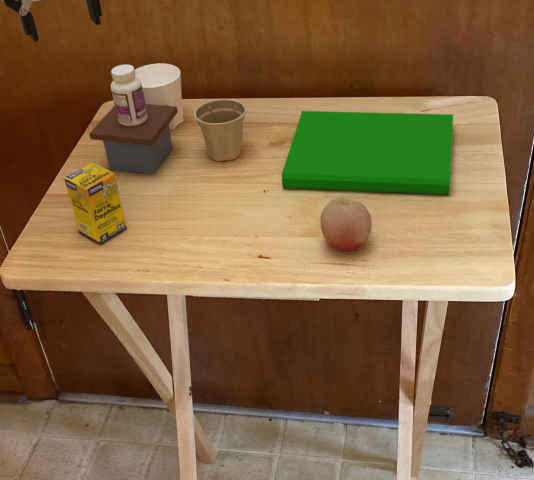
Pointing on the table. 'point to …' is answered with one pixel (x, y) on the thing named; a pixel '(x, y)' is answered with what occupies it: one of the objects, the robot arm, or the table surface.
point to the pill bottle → (128, 96)
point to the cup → (162, 88)
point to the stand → (137, 140)
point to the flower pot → (222, 127)
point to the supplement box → (96, 203)
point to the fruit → (345, 224)
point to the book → (371, 152)
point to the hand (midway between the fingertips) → (65, 30)
